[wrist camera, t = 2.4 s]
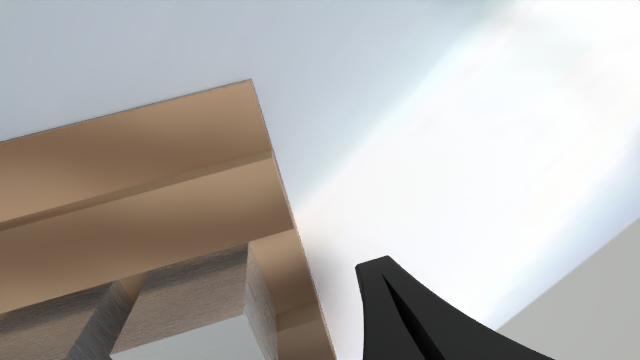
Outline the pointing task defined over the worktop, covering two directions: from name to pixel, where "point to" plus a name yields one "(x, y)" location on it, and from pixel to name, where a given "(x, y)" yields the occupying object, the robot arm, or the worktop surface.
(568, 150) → the worktop surface
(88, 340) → the chip
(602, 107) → the worktop surface
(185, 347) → the chip
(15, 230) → the slot board
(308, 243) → the worktop surface
